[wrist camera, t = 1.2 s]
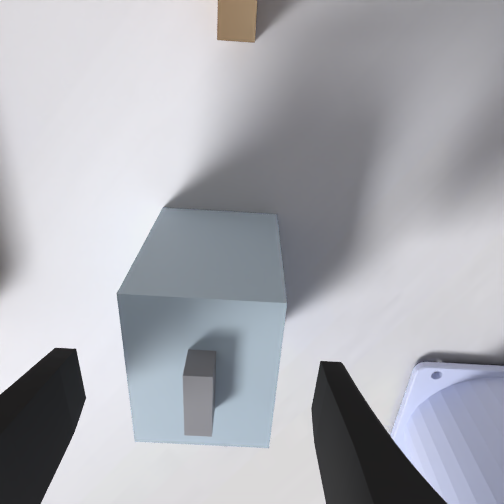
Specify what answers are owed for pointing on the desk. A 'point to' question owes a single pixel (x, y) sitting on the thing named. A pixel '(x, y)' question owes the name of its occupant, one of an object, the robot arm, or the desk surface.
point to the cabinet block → (204, 328)
